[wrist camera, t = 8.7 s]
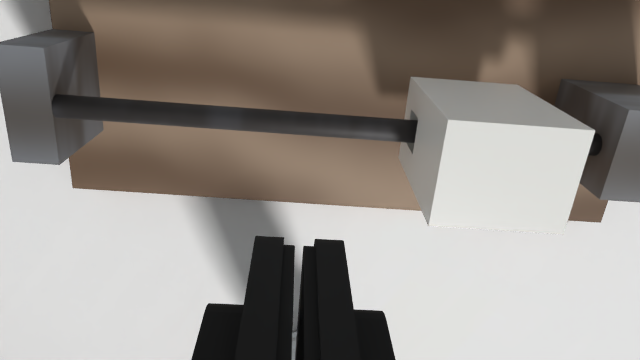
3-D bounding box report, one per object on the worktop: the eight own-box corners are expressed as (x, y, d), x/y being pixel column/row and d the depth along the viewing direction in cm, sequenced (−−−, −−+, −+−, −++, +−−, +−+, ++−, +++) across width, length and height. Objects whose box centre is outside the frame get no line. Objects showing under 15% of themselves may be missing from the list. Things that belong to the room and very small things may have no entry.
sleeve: (410, 76, 23) (448, 119, 17) (517, 84, 23) (595, 130, 17) (398, 157, 25) (428, 226, 18) (498, 164, 25) (563, 234, 18)
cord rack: (57, -49, 24) (-43, -55, 18) (655, 1, 26) (780, 14, 19) (84, 177, 29) (12, 243, 22) (587, 210, 30) (668, 282, 23)
